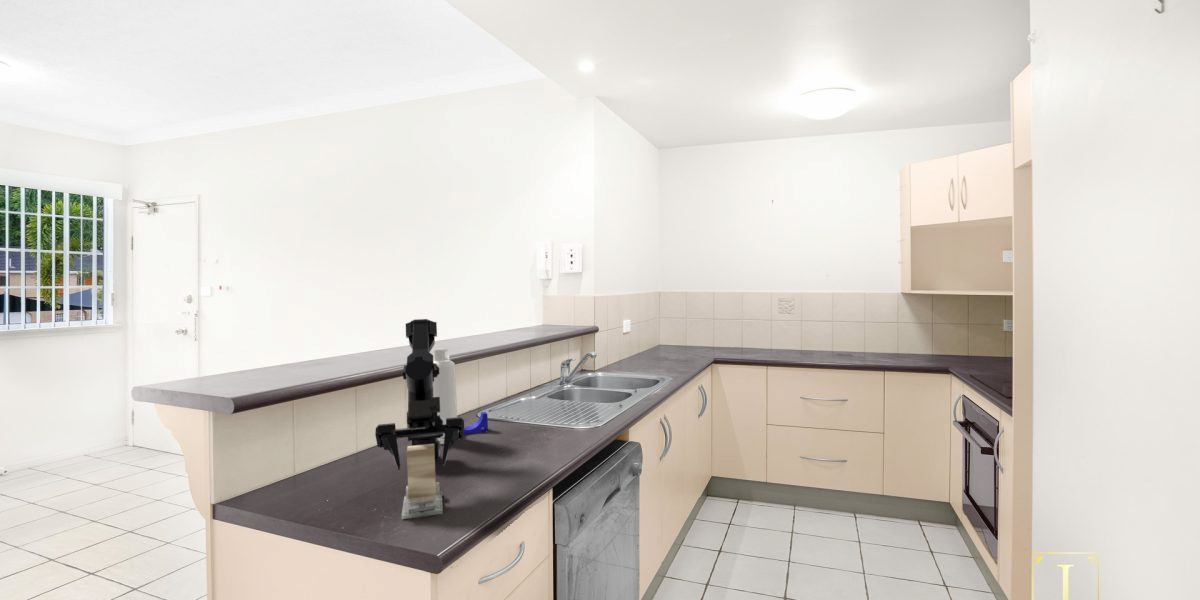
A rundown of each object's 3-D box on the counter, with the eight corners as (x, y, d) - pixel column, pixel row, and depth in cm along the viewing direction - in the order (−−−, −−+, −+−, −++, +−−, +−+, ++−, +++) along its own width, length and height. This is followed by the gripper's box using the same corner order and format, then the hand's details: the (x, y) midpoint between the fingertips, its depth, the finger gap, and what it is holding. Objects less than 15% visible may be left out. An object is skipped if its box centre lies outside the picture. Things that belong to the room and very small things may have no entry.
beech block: (409, 501, 119) (407, 446, 119) (436, 497, 121) (434, 443, 121) (408, 507, 116) (406, 451, 116) (436, 504, 118) (434, 448, 117)
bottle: (438, 436, 174) (434, 347, 173) (462, 436, 172) (459, 347, 171) (425, 443, 166) (422, 350, 165) (450, 444, 164) (447, 350, 163)
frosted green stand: (404, 499, 123) (403, 485, 123) (442, 494, 125) (441, 480, 125) (401, 523, 110) (400, 507, 110) (442, 517, 113) (442, 501, 113)
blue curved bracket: (485, 428, 182) (484, 410, 182) (488, 432, 178) (487, 413, 178) (447, 433, 177) (446, 415, 177) (449, 437, 173) (449, 418, 173)
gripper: (374, 388, 121) (370, 453, 111) (462, 381, 126) (466, 443, 116) (379, 415, 129) (376, 478, 119) (462, 408, 134) (466, 468, 124)
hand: (421, 466), depth 119 cm, fingers open, 9 cm apart
